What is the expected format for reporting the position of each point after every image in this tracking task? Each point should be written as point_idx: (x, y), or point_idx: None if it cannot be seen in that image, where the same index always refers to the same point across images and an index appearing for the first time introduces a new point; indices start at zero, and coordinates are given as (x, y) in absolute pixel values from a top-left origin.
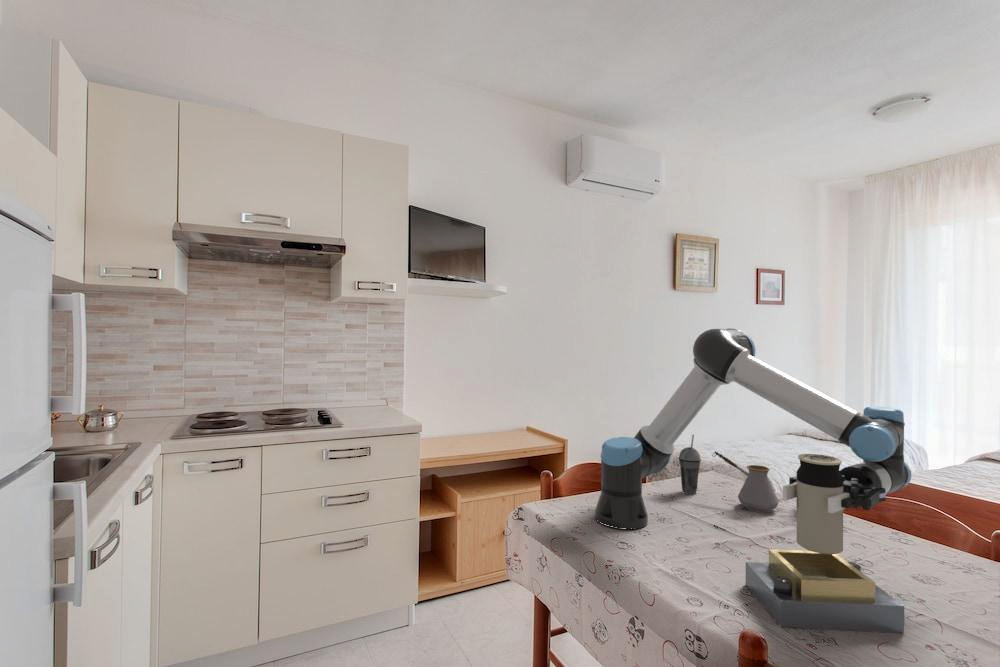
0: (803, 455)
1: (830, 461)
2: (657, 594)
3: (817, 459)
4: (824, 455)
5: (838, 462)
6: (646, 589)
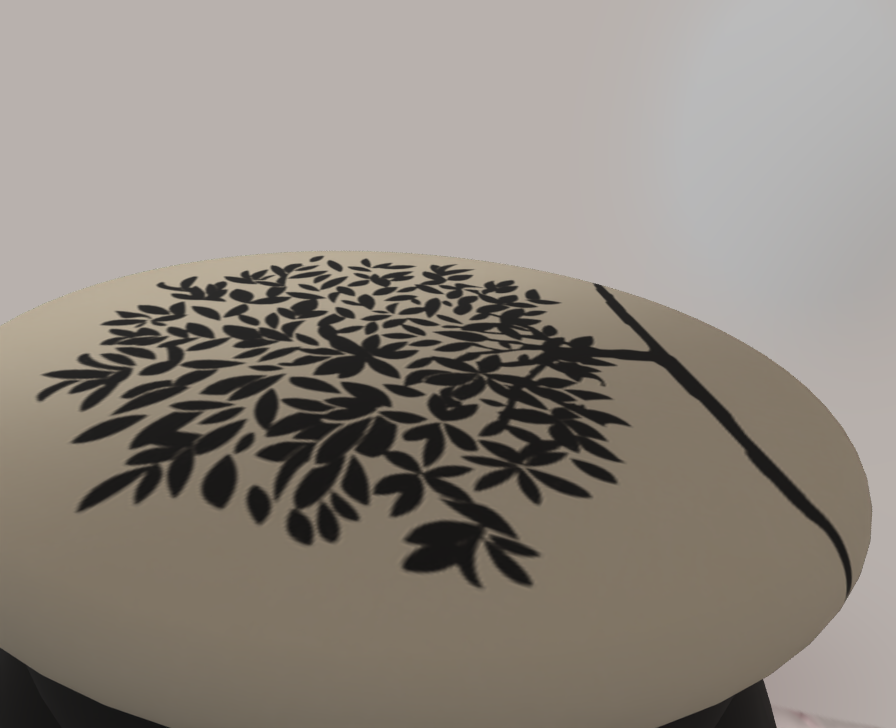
0: (720, 366)
1: (199, 283)
2: (796, 720)
3: (404, 294)
4: (420, 610)
5: (59, 298)
6: (840, 722)
